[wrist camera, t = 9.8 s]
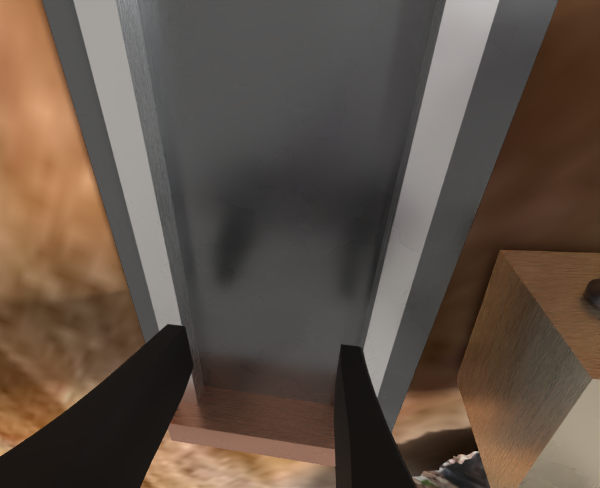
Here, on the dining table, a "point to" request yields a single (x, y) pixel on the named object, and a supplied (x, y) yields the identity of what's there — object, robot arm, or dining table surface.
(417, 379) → the dining table surface
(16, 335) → the dining table surface
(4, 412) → the dining table surface
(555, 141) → the dining table surface
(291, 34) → the rail guide
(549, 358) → the block
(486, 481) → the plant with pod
